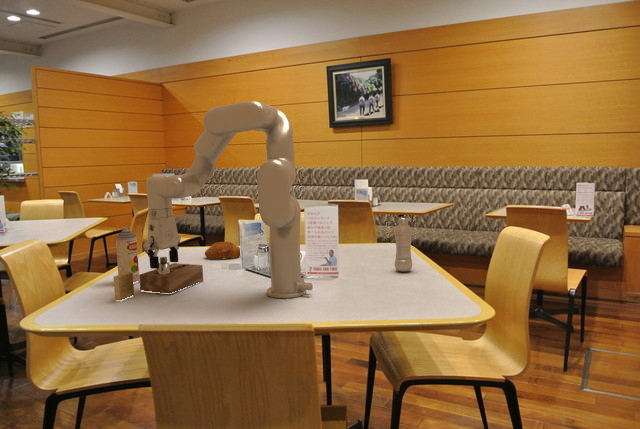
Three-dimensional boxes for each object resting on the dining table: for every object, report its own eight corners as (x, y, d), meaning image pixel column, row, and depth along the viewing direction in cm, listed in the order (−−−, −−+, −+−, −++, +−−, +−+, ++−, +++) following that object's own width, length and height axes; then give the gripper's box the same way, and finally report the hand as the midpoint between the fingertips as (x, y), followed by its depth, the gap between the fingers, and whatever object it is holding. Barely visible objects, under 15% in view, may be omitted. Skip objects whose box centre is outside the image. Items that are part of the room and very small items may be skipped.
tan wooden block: (134, 297, 158) (132, 272, 157) (120, 302, 153) (118, 277, 152) (129, 296, 159) (127, 272, 158) (115, 301, 153) (113, 276, 152)
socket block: (203, 281, 176) (202, 265, 175) (170, 295, 159) (169, 277, 158) (175, 279, 180) (174, 263, 179) (140, 292, 163) (139, 274, 163)
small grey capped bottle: (173, 289, 167) (171, 256, 165) (166, 291, 163) (164, 259, 162) (164, 288, 168) (162, 256, 167) (157, 290, 165) (155, 258, 163)
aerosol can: (132, 285, 172) (127, 228, 170) (114, 285, 174) (110, 228, 172) (143, 280, 179) (139, 226, 177) (126, 280, 181) (122, 225, 178)
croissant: (237, 265, 212) (239, 246, 211) (201, 260, 212) (203, 242, 211) (243, 257, 226) (245, 240, 225) (210, 253, 227) (211, 236, 225)
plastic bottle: (392, 272, 181) (392, 218, 179) (397, 268, 187) (396, 216, 185) (410, 274, 179) (410, 218, 176) (414, 269, 185) (413, 216, 182)
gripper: (151, 217, 153) (156, 271, 155) (186, 211, 169) (190, 260, 171) (132, 217, 156) (137, 270, 158) (168, 210, 172) (172, 259, 174)
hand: (164, 265), depth 165 cm, fingers open, 9 cm apart
